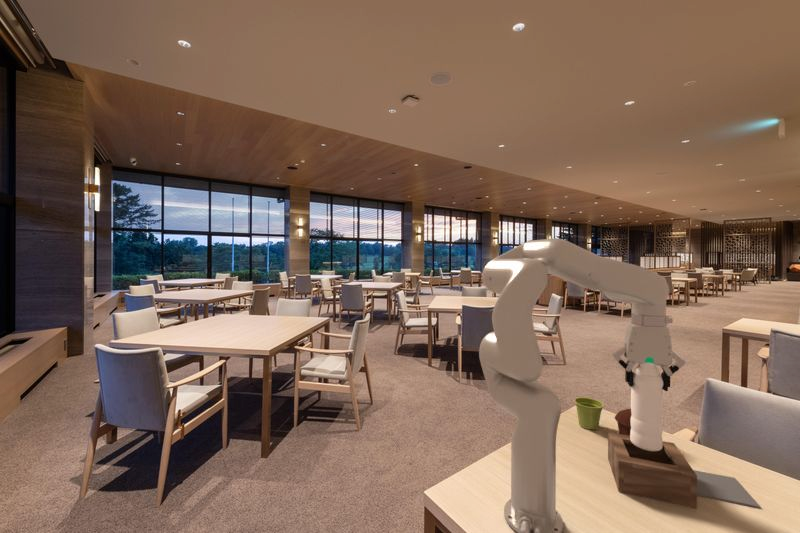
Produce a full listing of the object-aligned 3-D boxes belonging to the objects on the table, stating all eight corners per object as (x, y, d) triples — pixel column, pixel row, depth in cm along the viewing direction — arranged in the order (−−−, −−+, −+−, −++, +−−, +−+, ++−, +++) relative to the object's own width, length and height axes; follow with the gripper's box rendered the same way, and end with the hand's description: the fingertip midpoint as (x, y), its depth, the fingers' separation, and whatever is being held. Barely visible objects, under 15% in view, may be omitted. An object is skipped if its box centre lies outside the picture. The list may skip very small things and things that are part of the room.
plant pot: (580, 417, 130) (580, 395, 130) (607, 426, 123) (607, 402, 123) (569, 425, 124) (569, 401, 124) (597, 435, 117) (597, 410, 117)
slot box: (696, 508, 82) (697, 475, 82) (618, 491, 88) (618, 460, 88) (673, 471, 97) (673, 443, 97) (608, 458, 103) (608, 432, 103)
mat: (760, 508, 82) (760, 506, 82) (697, 495, 87) (697, 493, 87) (734, 479, 93) (734, 477, 93) (679, 468, 98) (679, 467, 98)
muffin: (653, 437, 115) (653, 407, 115) (662, 454, 105) (662, 421, 105) (612, 430, 120) (612, 402, 120) (616, 445, 110) (617, 414, 110)
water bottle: (651, 439, 95) (653, 349, 95) (668, 453, 88) (670, 356, 88) (624, 438, 96) (626, 348, 96) (639, 451, 89) (641, 355, 89)
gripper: (683, 321, 92) (682, 387, 92) (608, 316, 99) (607, 378, 99) (694, 325, 85) (693, 397, 85) (613, 320, 92) (611, 386, 92)
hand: (647, 386), depth 92 cm, fingers closed on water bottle, 7 cm apart
